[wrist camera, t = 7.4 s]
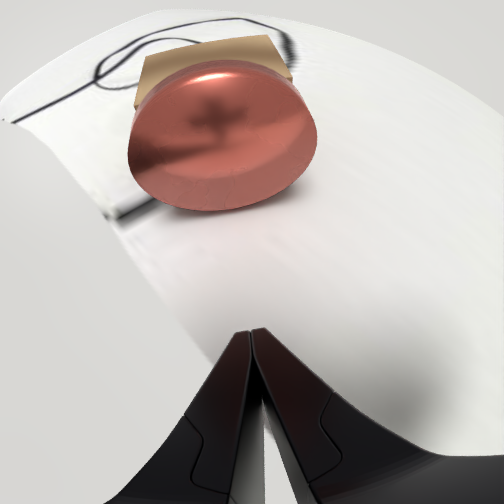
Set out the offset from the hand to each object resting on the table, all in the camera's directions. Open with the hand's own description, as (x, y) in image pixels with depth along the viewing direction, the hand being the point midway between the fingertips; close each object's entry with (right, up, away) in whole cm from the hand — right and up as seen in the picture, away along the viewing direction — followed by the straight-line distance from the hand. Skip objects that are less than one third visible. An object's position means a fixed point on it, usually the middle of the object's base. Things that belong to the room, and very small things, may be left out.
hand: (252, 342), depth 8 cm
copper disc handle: (-2, +10, +11) cm, 15 cm away
